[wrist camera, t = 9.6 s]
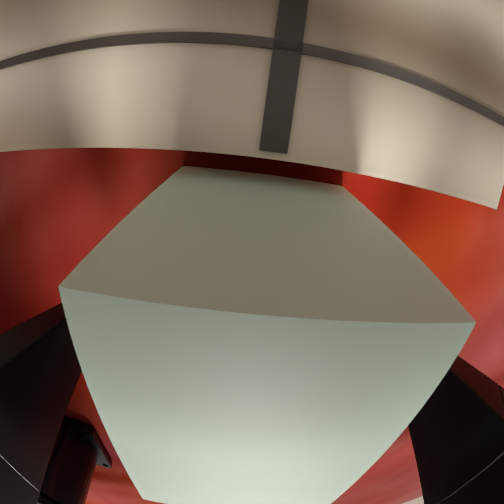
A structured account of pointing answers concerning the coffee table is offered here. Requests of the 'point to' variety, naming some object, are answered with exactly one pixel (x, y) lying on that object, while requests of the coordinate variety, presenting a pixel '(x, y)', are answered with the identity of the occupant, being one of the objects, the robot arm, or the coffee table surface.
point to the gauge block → (256, 338)
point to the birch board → (266, 83)
